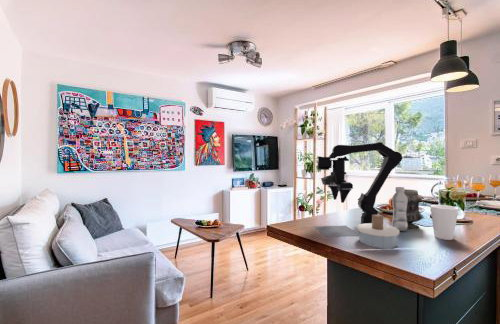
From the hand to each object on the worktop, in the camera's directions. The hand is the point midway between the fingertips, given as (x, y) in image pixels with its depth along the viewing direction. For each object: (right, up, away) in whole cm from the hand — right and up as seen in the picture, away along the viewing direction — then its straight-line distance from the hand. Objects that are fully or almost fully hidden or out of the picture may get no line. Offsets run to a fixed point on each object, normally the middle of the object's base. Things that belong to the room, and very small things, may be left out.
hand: (338, 201), depth 128 cm
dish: (+6, -13, -27) cm, 31 cm away
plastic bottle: (+25, -12, -10) cm, 29 cm away
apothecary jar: (+32, -12, -3) cm, 35 cm away
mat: (-5, -12, -12) cm, 18 cm away
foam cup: (+37, -13, -20) cm, 44 cm away
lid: (+6, -8, -27) cm, 29 cm away
